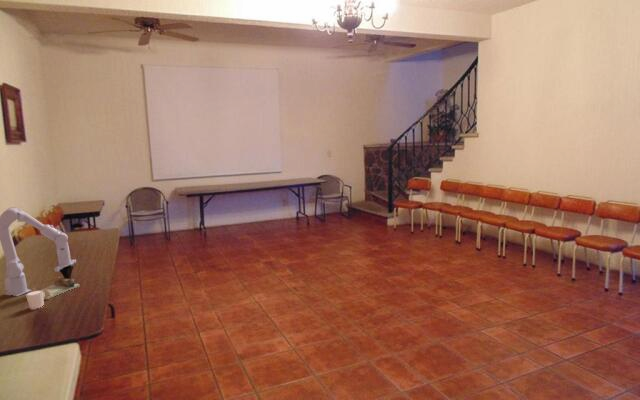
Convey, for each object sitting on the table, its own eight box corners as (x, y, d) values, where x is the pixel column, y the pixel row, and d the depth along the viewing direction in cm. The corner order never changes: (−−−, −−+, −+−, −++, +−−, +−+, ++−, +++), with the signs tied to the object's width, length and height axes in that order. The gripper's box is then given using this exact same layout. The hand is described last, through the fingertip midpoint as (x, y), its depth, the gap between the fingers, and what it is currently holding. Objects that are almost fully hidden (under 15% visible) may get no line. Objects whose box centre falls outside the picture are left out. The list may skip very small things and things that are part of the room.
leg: (76, 284, 230) (75, 279, 230) (71, 286, 228) (70, 280, 227) (59, 283, 234) (58, 277, 234) (54, 285, 232) (53, 279, 231)
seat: (28, 297, 221) (26, 289, 220) (60, 284, 238) (59, 276, 237) (48, 299, 216) (46, 291, 215) (80, 286, 232) (79, 278, 232)
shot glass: (42, 302, 212) (39, 289, 211) (47, 305, 208) (45, 291, 207) (26, 308, 207) (23, 293, 206) (31, 311, 203) (28, 296, 201)
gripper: (61, 259, 227) (65, 284, 229) (79, 251, 241) (83, 275, 243) (49, 260, 228) (53, 285, 230) (67, 251, 242) (71, 275, 244)
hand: (68, 280), depth 237 cm, fingers closed
